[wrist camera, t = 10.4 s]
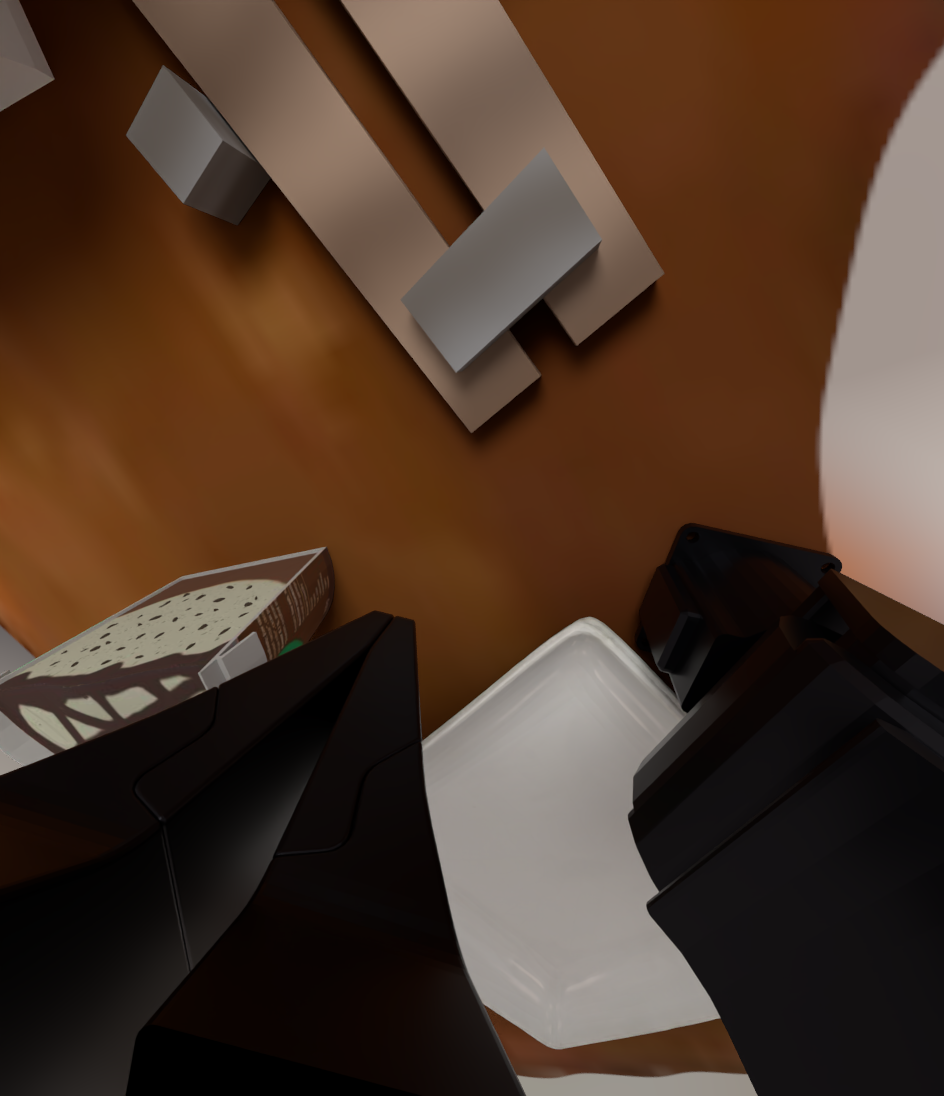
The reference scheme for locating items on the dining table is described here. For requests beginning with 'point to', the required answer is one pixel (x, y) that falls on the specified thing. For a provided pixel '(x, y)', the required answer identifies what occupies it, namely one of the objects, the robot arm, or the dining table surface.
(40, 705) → the food container
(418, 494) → the dining table surface
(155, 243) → the dining table surface
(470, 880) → the square plate
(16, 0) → the alarm clock
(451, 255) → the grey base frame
